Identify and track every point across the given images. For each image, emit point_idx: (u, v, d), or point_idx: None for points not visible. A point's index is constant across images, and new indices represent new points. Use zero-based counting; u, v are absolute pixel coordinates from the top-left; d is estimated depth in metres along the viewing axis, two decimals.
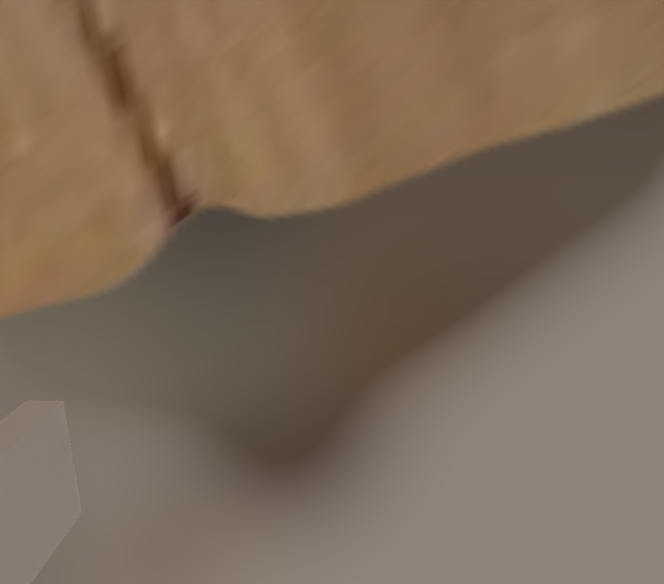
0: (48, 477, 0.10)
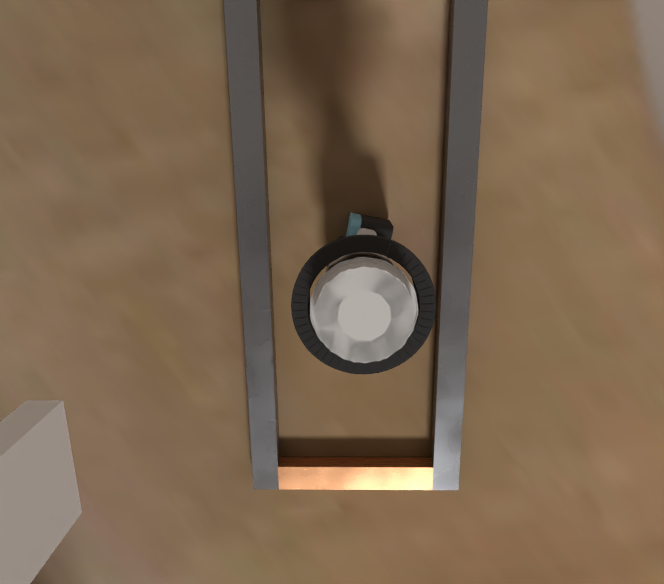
0: (48, 477, 0.10)
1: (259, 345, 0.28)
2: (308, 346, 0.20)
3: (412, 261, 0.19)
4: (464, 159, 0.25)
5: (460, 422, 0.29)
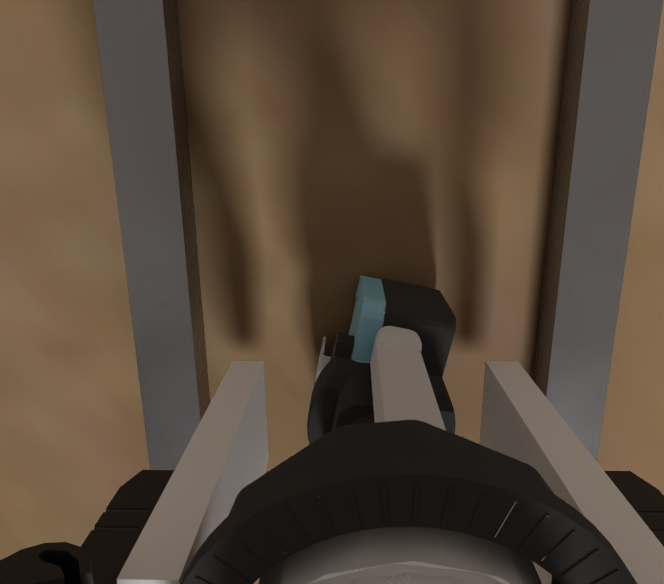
0: (259, 424, 0.12)
1: None
2: None
3: (590, 559, 0.05)
4: (609, 168, 0.12)
5: None
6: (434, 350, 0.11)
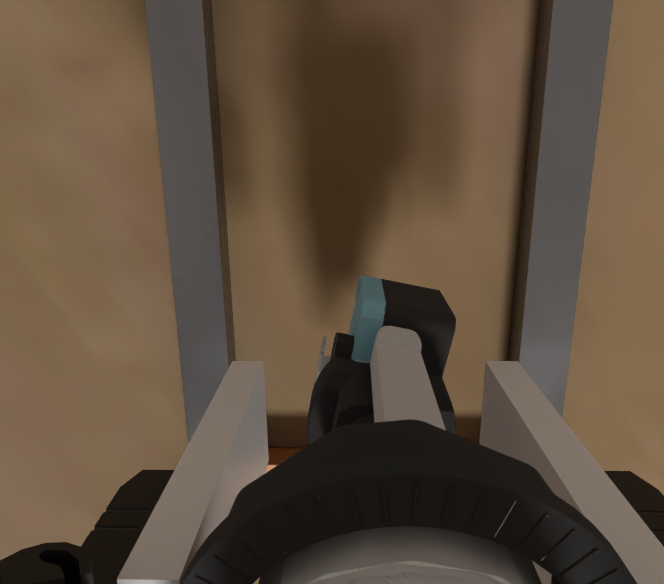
0: (259, 424, 0.12)
1: (195, 240, 0.15)
2: None
3: (590, 558, 0.05)
4: None
5: (562, 386, 0.16)
6: (434, 350, 0.11)
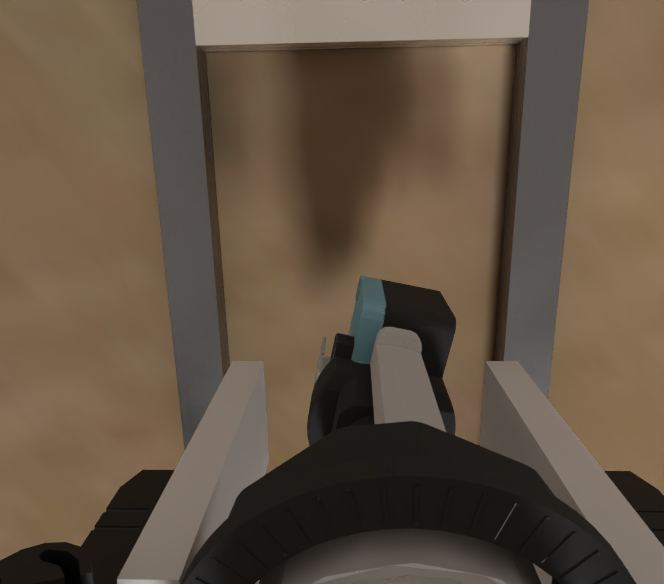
0: (259, 424, 0.12)
1: None
2: None
3: (590, 561, 0.05)
4: (535, 312, 0.16)
5: None
6: (435, 351, 0.11)
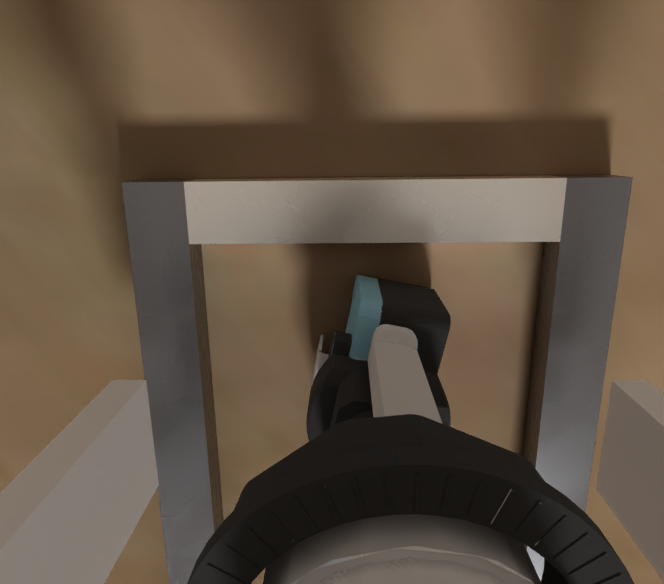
0: (136, 449, 0.11)
1: None
2: None
3: (580, 543, 0.05)
4: None
5: None
6: (430, 347, 0.12)
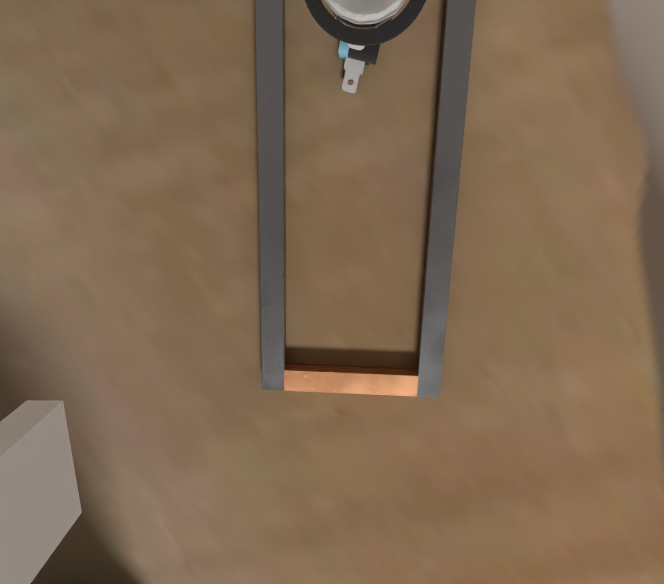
0: (48, 477, 0.10)
1: (272, 260, 0.33)
2: (314, 13, 0.21)
3: None
4: (454, 101, 0.30)
5: (443, 336, 0.34)
6: None
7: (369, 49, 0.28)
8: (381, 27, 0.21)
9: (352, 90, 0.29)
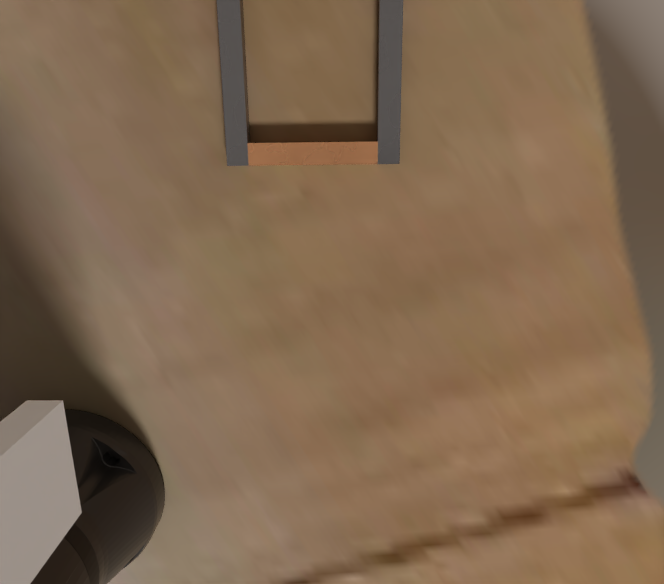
0: (48, 477, 0.10)
1: (230, 22, 0.34)
2: None
3: None
4: None
5: (399, 96, 0.35)
6: None
7: None
8: None
9: None
